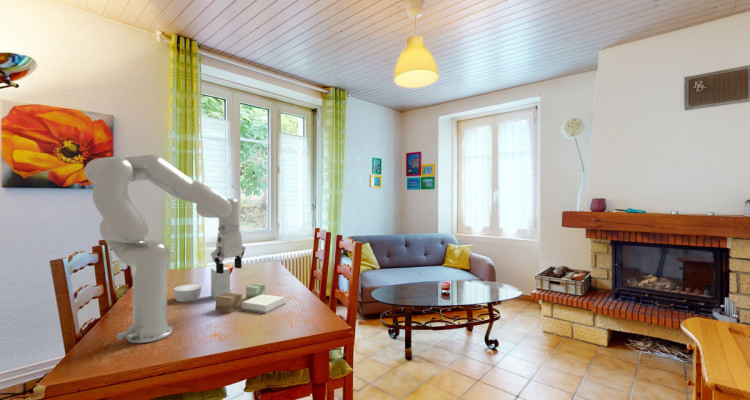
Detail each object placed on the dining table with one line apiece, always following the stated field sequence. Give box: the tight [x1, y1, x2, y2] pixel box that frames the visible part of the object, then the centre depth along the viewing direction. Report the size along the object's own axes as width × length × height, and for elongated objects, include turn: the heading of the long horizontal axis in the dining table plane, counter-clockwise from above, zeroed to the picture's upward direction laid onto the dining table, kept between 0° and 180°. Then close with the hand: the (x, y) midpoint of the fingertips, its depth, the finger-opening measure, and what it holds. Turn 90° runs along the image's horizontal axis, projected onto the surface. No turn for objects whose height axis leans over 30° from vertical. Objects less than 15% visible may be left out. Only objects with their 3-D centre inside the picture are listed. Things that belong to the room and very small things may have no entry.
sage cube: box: [245, 282, 267, 301], centre depth 155 cm, size 6×6×6 cm
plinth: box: [240, 294, 287, 314], centre depth 143 cm, size 13×13×3 cm
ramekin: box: [173, 283, 202, 303], centre depth 154 cm, size 11×11×5 cm
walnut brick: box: [215, 291, 243, 314], centre depth 140 cm, size 6×8×6 cm
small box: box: [210, 266, 231, 301], centre depth 157 cm, size 8×6×13 cm
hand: (229, 270), depth 140 cm, fingers open, 9 cm apart
